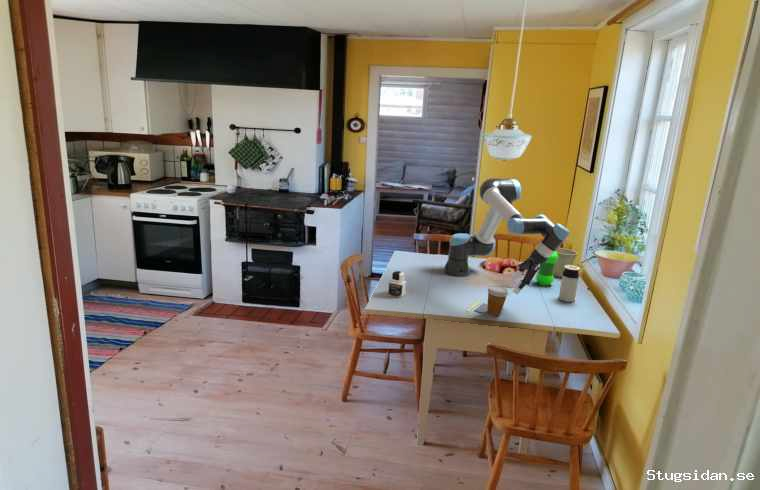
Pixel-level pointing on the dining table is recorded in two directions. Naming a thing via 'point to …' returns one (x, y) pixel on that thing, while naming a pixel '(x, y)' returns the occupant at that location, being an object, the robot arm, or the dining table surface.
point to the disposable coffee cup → (496, 299)
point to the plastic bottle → (547, 271)
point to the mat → (483, 309)
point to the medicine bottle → (397, 285)
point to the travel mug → (569, 283)
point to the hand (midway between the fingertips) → (513, 286)
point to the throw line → (472, 307)
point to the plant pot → (563, 260)
